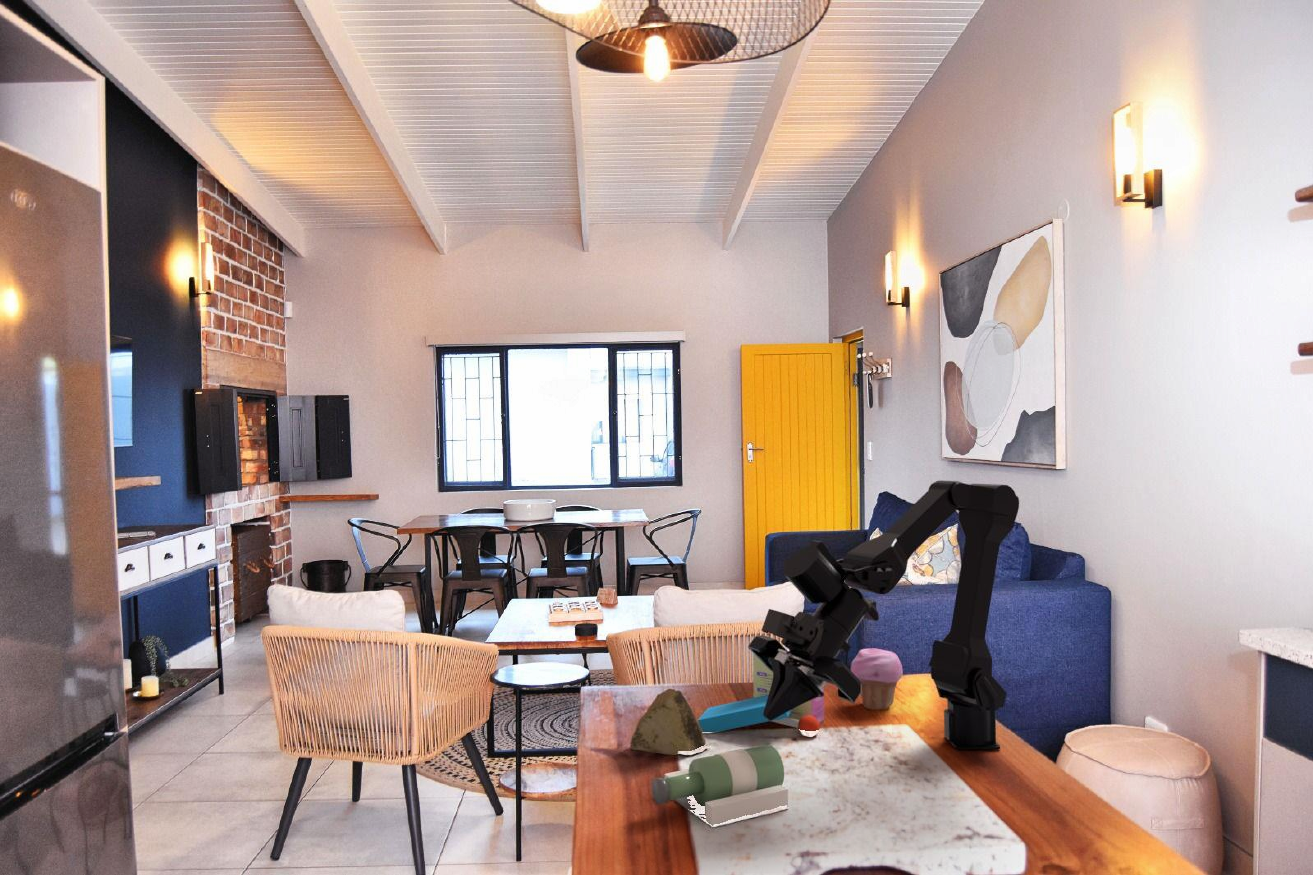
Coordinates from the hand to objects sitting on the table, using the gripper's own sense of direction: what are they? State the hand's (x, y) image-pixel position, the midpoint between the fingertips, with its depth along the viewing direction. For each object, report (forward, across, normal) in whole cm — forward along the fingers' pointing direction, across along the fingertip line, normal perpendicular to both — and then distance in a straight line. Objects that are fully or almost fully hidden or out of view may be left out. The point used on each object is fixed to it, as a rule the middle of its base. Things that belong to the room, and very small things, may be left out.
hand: (766, 718), depth 116 cm
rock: (+10, -20, +4) cm, 23 cm away
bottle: (+4, 0, +5) cm, 6 cm away
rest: (+12, 0, +2) cm, 12 cm away
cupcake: (-20, -21, +33) cm, 44 cm away
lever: (-2, -21, +16) cm, 26 cm away
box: (-7, -23, +21) cm, 32 cm away
